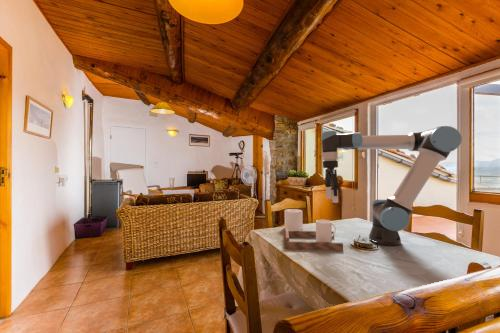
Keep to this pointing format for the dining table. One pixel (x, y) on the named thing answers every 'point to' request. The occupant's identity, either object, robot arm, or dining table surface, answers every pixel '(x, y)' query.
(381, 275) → the dining table surface
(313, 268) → the dining table surface
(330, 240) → the mug
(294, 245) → the brown rectangular tray
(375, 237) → the robot arm
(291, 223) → the cup
